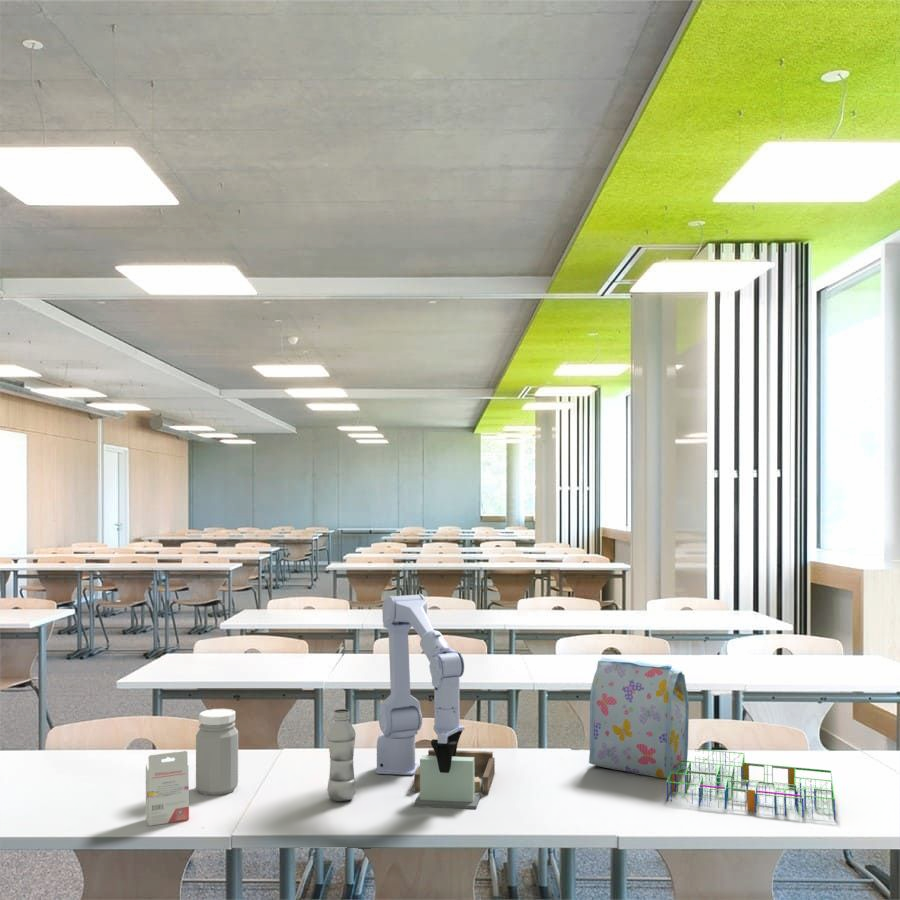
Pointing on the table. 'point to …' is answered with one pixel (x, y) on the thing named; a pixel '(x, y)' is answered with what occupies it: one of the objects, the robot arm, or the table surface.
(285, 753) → the table surface
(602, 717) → the lunch bag
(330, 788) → the plastic bottle
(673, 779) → the house model
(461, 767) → the pale green block
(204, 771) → the jar
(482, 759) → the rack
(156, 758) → the ink cartridge box
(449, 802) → the mat
